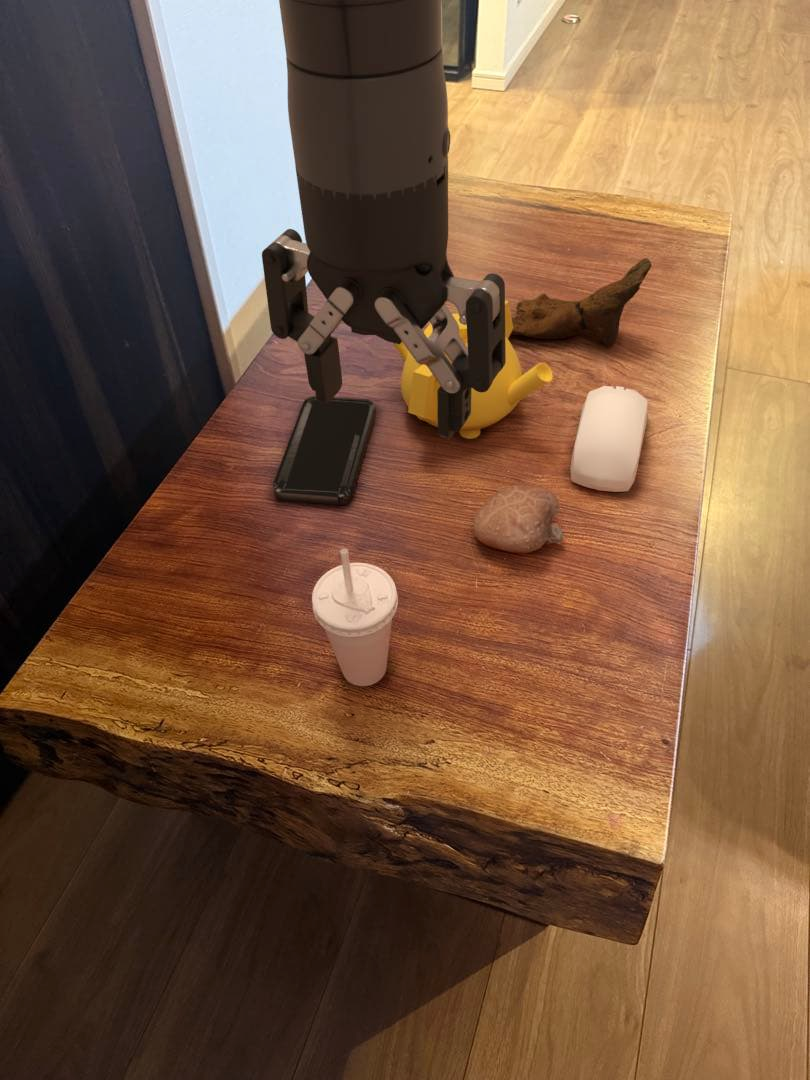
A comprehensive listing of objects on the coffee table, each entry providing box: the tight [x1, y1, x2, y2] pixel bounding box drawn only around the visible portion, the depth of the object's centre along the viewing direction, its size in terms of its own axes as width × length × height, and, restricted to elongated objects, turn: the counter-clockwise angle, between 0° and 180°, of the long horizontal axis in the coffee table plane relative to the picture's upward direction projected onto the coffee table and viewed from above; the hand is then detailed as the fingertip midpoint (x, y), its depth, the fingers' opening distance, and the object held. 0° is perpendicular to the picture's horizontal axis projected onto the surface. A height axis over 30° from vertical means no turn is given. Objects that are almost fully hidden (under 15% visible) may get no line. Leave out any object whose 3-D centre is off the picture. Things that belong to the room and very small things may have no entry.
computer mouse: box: [569, 385, 649, 493], centre depth 83 cm, size 6×13×6 cm, turn 163°
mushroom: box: [472, 484, 565, 554], centre depth 77 cm, size 8×6×8 cm
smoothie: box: [311, 548, 399, 687], centre depth 64 cm, size 6×6×14 cm
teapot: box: [393, 299, 554, 440], centre depth 87 cm, size 20×18×11 cm
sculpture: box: [510, 257, 652, 347], centre depth 96 cm, size 8×10×15 cm
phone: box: [272, 395, 376, 506], centre depth 86 cm, size 8×1×15 cm
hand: (389, 411), depth 53 cm, fingers open, 8 cm apart
